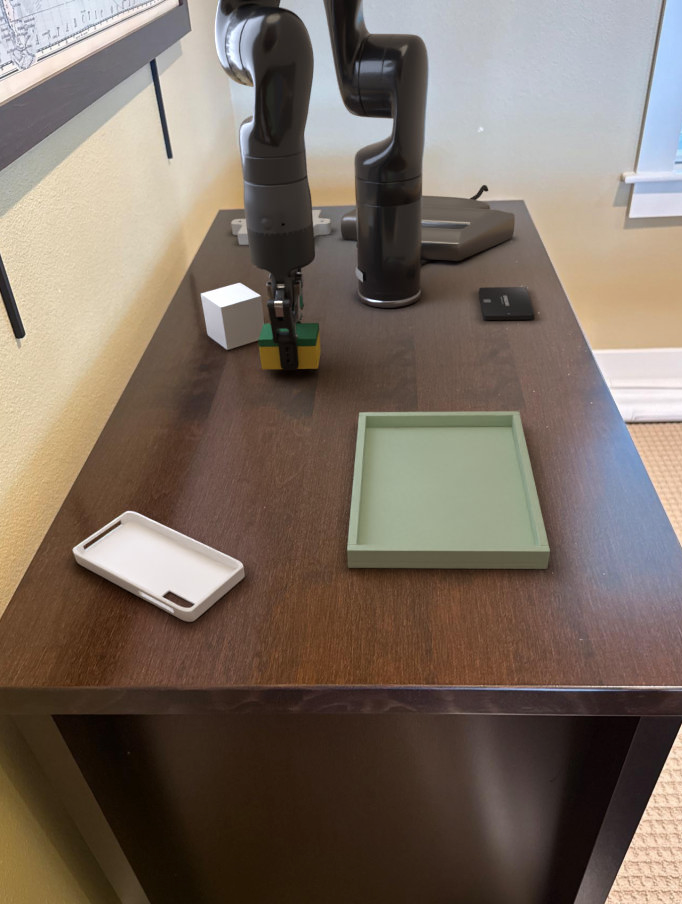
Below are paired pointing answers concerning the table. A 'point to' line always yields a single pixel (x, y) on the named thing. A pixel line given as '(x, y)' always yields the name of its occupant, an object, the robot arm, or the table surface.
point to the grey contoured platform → (452, 227)
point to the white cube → (233, 315)
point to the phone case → (160, 564)
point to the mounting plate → (319, 227)
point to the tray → (444, 493)
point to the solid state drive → (506, 303)
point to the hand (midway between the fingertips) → (292, 358)
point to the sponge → (305, 343)
